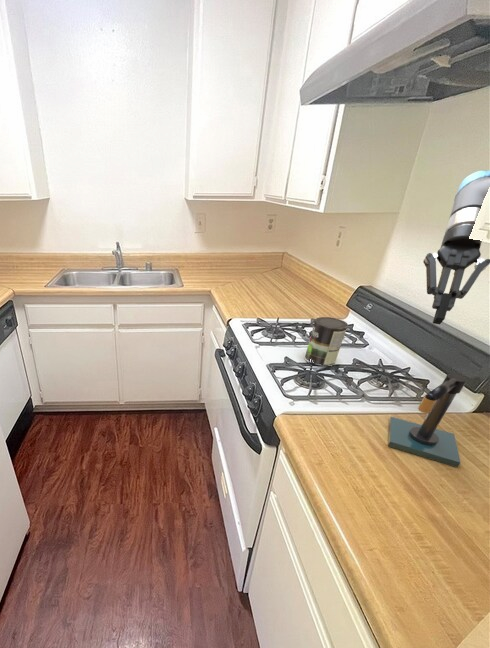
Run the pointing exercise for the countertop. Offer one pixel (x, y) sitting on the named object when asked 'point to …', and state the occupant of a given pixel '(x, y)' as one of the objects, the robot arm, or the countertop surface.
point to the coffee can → (325, 340)
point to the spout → (442, 391)
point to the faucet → (426, 435)
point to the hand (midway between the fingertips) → (438, 321)
